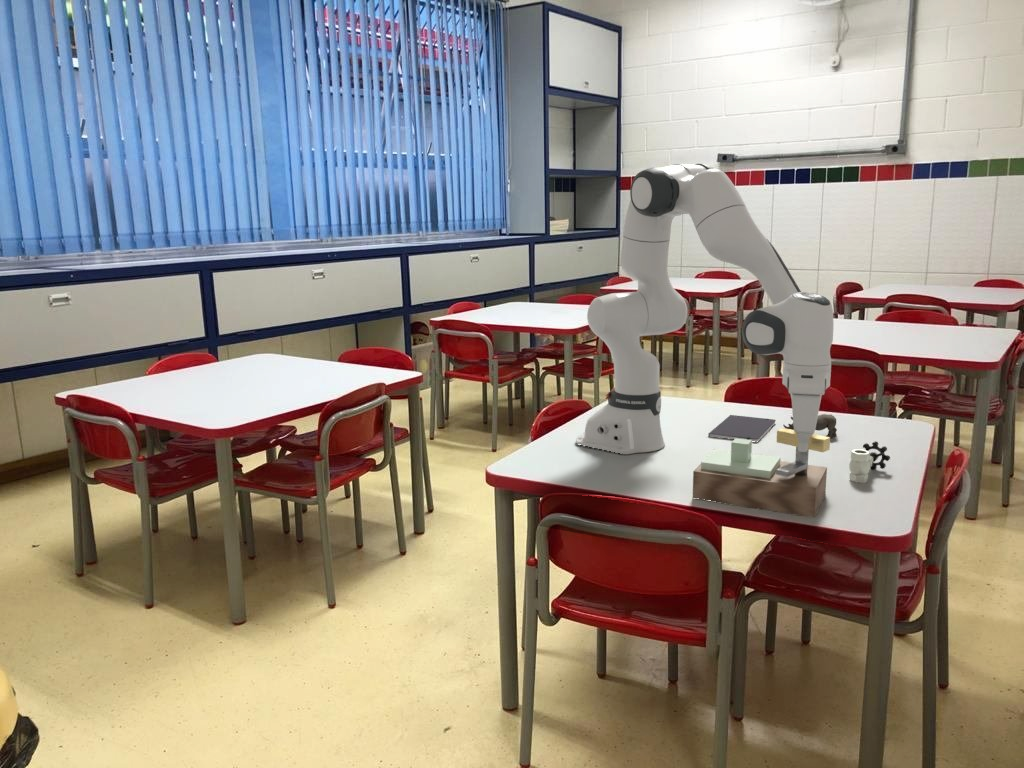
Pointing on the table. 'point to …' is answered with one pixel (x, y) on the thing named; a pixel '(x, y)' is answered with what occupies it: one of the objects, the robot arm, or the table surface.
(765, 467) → the cover
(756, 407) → the table surface
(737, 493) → the walnut box
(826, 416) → the rhino figurine
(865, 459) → the valve
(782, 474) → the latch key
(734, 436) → the notebook
